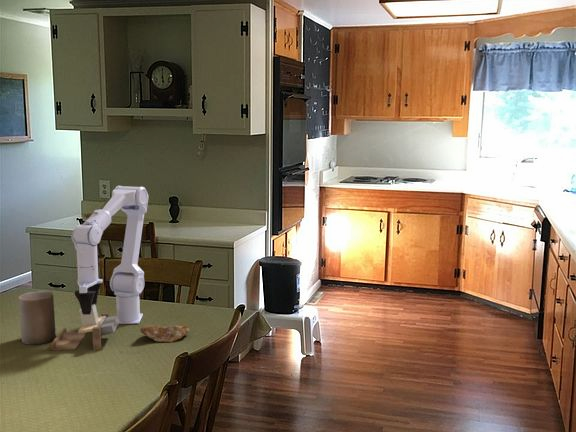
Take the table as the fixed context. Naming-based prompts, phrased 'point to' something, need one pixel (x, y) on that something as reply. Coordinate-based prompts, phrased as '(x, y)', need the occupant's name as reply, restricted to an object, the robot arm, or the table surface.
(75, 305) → the table surface
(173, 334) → the decorative stone
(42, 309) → the pillar candle
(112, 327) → the trapdoor
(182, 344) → the table surface
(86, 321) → the stone block
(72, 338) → the frame
